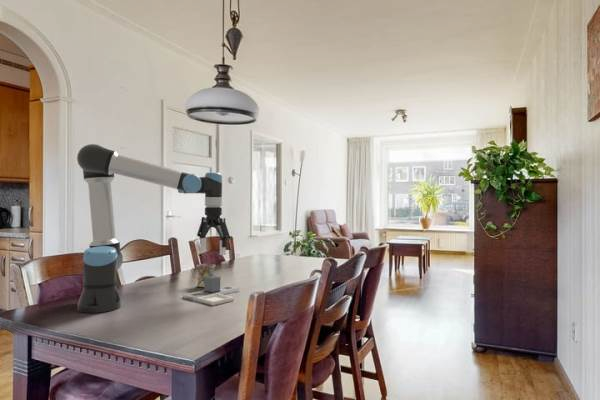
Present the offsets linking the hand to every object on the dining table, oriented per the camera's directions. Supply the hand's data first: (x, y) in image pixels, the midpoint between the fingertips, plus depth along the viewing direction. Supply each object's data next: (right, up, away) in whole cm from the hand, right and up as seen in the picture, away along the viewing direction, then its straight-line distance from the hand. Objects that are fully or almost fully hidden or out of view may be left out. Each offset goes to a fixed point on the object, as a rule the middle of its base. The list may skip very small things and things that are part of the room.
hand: (212, 253), depth 182 cm
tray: (+4, -19, -12) cm, 23 cm away
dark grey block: (0, -19, 0) cm, 19 cm away
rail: (0, -19, 0) cm, 19 cm away
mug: (-8, -19, +17) cm, 26 cm away
